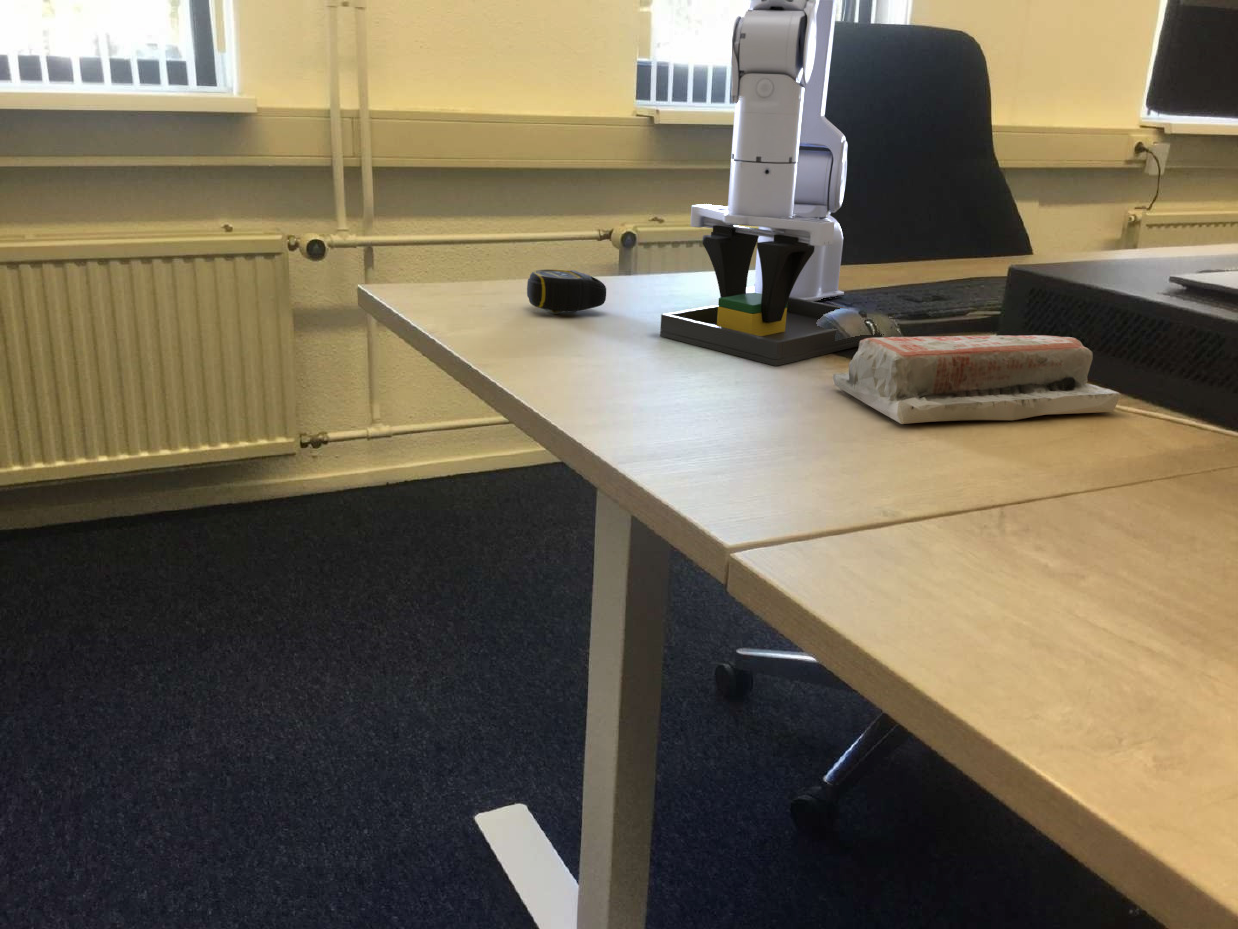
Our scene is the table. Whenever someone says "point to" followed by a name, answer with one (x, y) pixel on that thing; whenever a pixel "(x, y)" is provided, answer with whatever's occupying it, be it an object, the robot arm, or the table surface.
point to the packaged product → (974, 378)
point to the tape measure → (564, 290)
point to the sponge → (747, 315)
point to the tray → (770, 349)
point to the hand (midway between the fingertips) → (751, 316)
